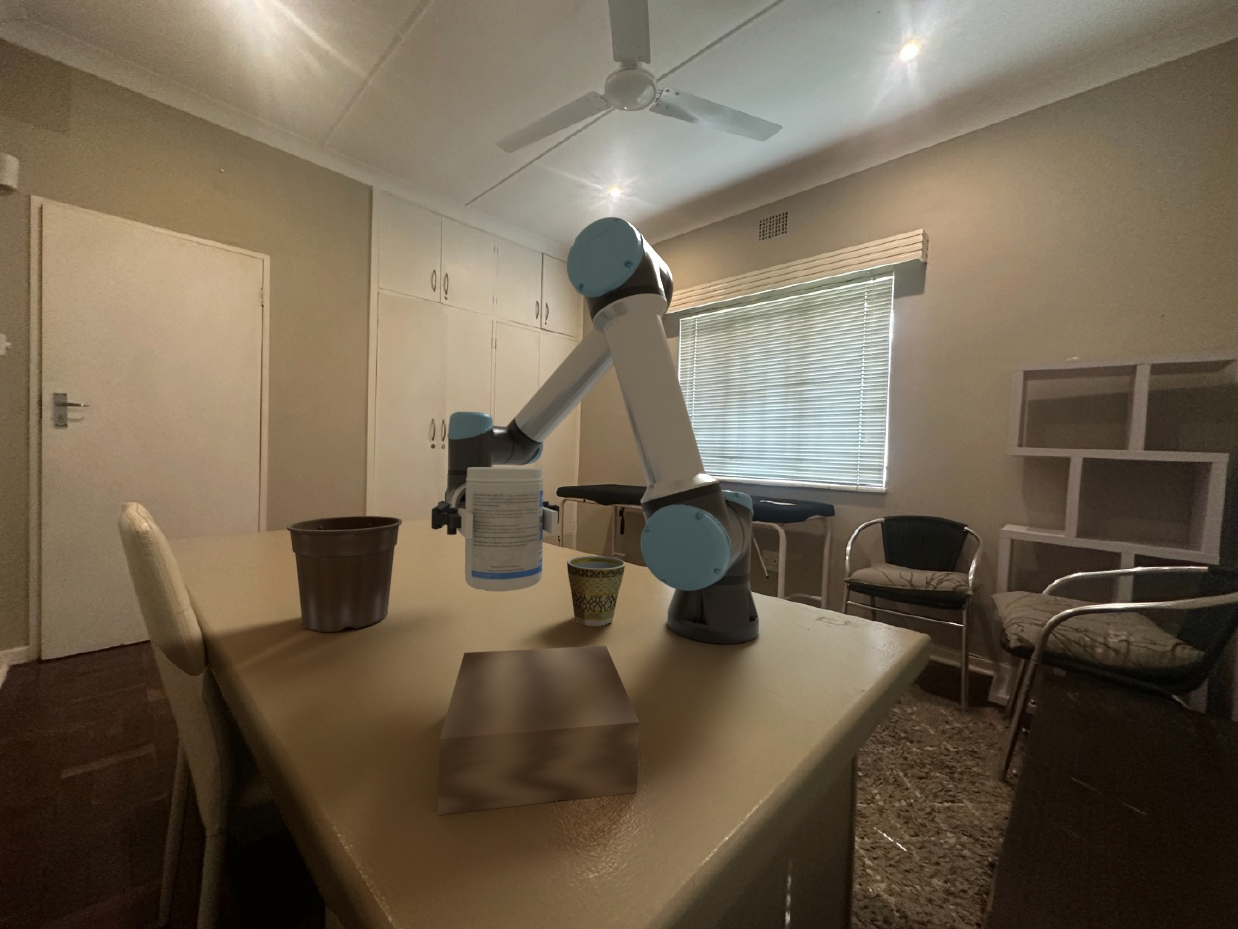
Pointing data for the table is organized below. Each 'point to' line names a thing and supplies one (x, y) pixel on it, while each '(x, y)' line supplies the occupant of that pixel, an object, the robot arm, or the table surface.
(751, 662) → the table surface
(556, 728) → the block
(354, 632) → the table surface
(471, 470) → the supplement tub
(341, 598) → the plant pot
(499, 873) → the table surface
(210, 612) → the table surface
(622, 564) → the ceramic cup
